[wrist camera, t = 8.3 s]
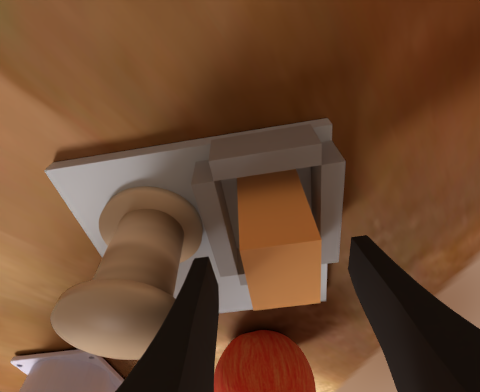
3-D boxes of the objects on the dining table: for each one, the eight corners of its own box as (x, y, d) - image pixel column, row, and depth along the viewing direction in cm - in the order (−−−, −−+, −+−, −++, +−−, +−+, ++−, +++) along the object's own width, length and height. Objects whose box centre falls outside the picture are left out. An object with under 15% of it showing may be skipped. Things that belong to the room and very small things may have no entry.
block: (298, 226, 17) (320, 302, 13) (247, 233, 17) (253, 310, 13) (295, 168, 14) (321, 239, 10) (236, 177, 14) (239, 250, 10)
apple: (320, 324, 25) (353, 442, 18) (278, 364, 29) (292, 471, 23) (236, 306, 23) (239, 432, 16) (204, 351, 27) (196, 465, 21)
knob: (212, 252, 18) (205, 354, 13) (126, 264, 18) (87, 367, 13) (188, 178, 14) (167, 277, 10) (84, 194, 15) (11, 297, 10)
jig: (323, 291, 22) (334, 326, 20) (147, 312, 23) (138, 348, 21) (327, 113, 13) (347, 139, 11) (50, 159, 14) (17, 191, 12)
